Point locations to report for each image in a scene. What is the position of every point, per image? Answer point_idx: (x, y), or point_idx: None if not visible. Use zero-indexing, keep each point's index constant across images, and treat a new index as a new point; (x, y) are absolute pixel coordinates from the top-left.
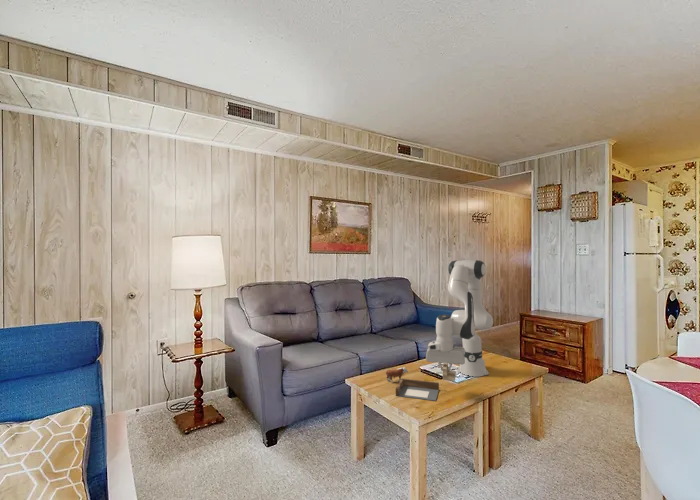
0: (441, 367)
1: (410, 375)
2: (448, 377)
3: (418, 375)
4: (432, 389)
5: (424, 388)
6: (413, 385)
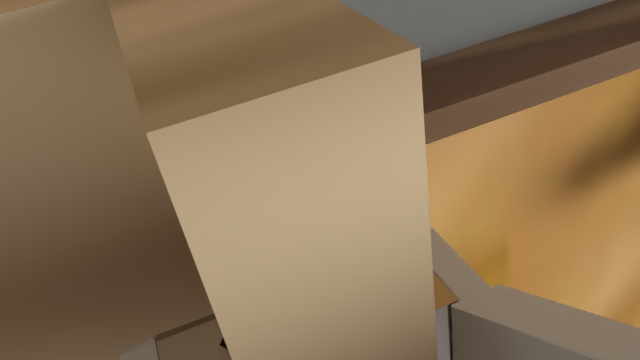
0: (468, 306)
1: (623, 260)
2: (42, 26)
3: None
4: None
5: (481, 36)
6: (621, 7)
